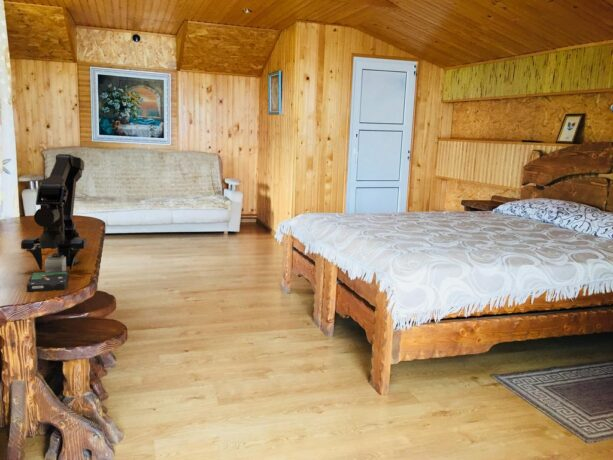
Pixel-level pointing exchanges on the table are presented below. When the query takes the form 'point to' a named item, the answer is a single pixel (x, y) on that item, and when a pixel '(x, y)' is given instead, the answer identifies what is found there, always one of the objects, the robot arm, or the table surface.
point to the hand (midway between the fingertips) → (56, 269)
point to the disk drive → (48, 281)
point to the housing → (55, 263)
